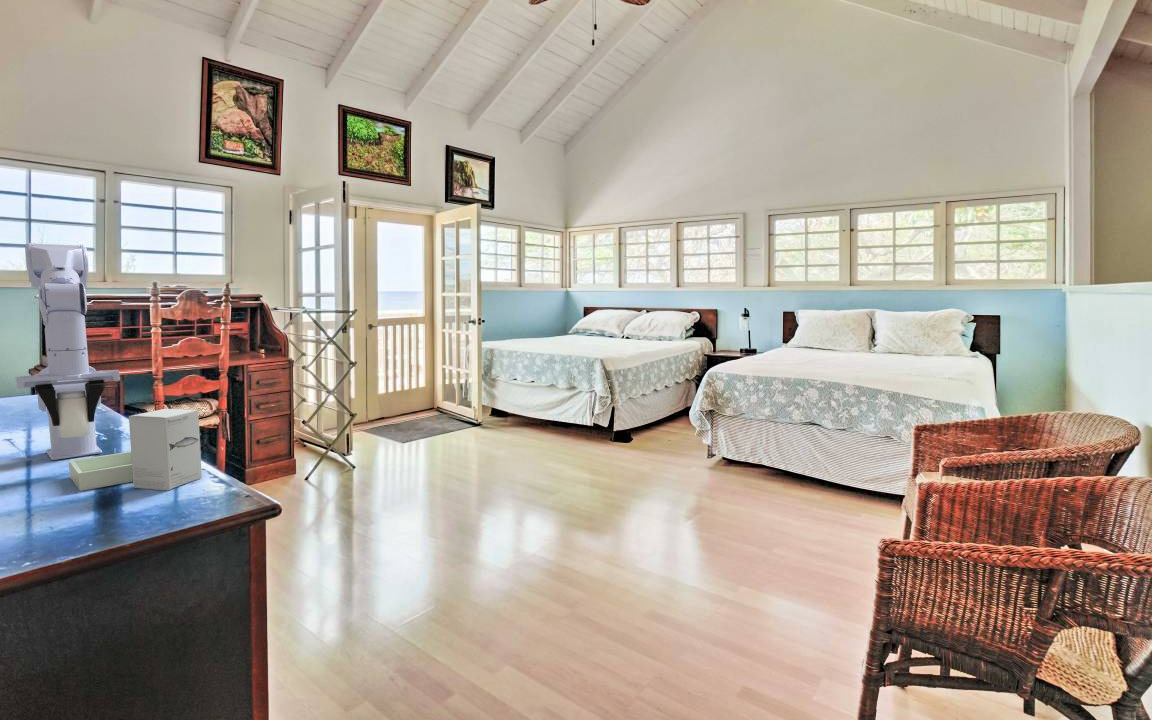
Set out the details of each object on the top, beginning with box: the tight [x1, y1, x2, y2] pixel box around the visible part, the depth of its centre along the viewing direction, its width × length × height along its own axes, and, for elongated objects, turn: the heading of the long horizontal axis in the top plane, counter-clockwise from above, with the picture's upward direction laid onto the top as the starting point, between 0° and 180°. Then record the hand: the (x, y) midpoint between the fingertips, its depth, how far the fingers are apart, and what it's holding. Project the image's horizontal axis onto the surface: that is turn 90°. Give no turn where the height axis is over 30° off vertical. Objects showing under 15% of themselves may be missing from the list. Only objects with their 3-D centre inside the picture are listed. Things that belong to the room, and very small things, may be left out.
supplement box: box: [128, 408, 203, 491], centre depth 106 cm, size 7×7×13 cm
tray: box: [68, 451, 133, 492], centre depth 110 cm, size 11×11×3 cm
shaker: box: [56, 390, 90, 438], centre depth 112 cm, size 4×4×8 cm
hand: (73, 423), depth 112 cm, fingers closed on shaker, 4 cm apart
